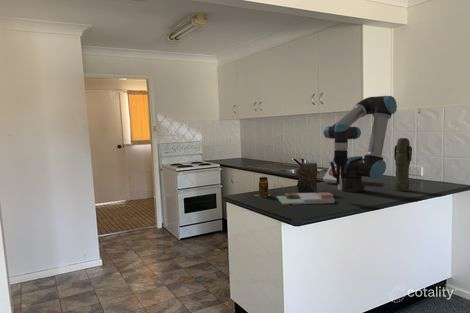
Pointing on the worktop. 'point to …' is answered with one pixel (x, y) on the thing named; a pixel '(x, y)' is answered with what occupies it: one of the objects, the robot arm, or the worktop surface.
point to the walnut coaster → (291, 195)
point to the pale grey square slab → (314, 198)
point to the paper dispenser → (331, 175)
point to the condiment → (263, 187)
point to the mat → (289, 200)
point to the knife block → (307, 178)
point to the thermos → (402, 164)
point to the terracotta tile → (325, 195)
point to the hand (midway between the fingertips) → (339, 189)
